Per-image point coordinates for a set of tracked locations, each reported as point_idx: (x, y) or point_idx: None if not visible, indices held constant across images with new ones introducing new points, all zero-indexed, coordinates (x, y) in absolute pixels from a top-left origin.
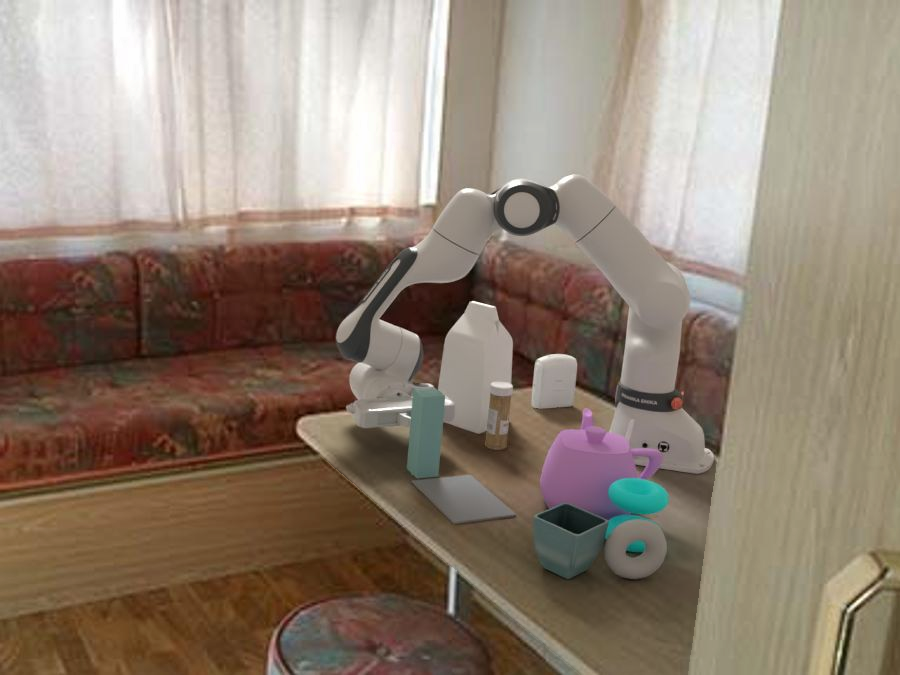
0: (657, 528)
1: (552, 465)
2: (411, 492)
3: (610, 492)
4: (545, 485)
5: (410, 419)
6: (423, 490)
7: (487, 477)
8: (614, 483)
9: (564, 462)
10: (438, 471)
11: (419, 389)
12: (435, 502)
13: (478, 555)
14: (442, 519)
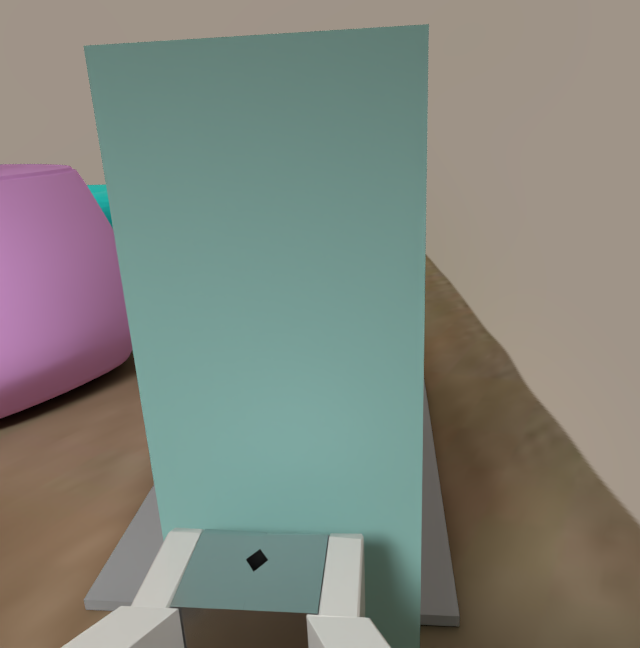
0: None
1: (99, 235)
2: (496, 542)
3: None
4: (122, 299)
5: (361, 581)
6: (437, 519)
7: (17, 580)
8: (97, 196)
9: (98, 204)
10: None
11: (336, 32)
12: (428, 444)
13: (427, 316)
14: (445, 397)
